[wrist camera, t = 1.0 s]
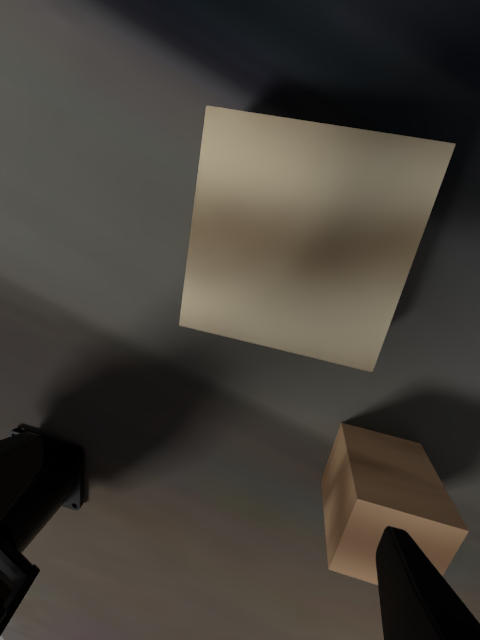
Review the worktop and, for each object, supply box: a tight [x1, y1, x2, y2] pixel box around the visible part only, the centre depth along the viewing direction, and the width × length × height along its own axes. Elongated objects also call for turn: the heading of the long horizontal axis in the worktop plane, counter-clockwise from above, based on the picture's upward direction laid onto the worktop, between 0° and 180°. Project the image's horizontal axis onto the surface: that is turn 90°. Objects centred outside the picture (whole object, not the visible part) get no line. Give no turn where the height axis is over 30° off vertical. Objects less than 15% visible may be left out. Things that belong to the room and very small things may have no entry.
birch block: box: [179, 106, 456, 372], centre depth 16 cm, size 10×10×4 cm
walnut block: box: [321, 423, 469, 585], centre depth 18 cm, size 5×5×6 cm
